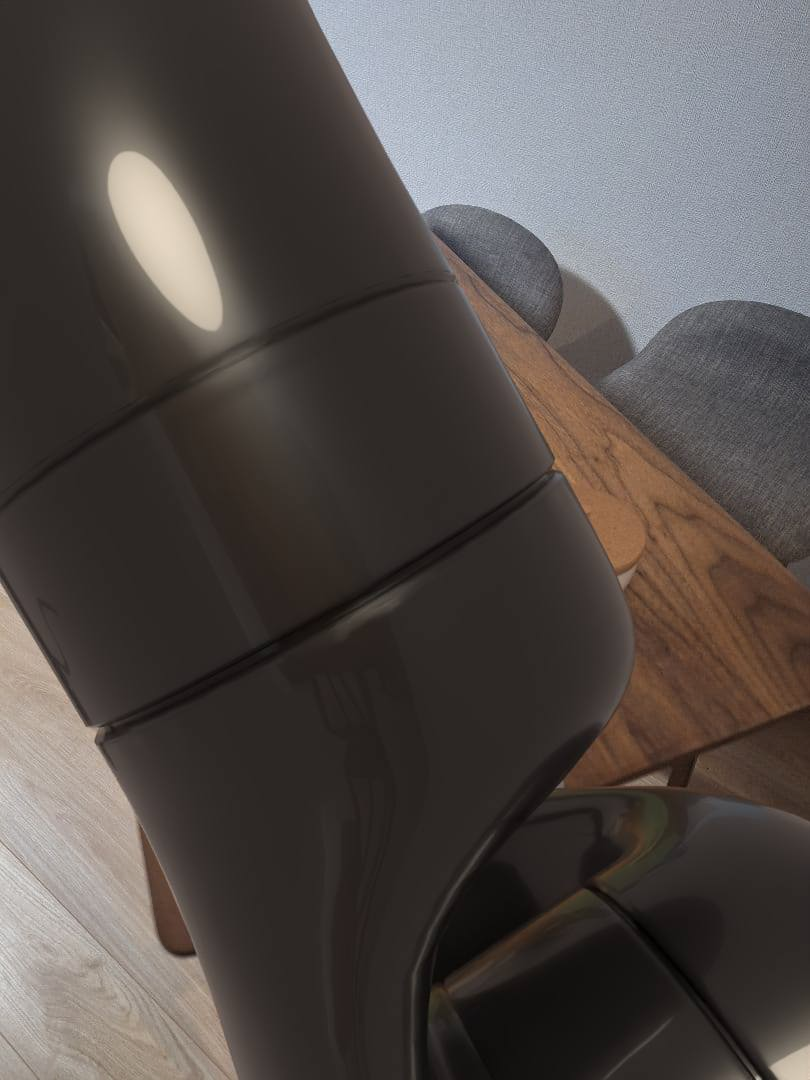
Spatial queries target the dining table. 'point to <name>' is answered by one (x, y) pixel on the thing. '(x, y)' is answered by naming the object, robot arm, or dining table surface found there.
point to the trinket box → (614, 530)
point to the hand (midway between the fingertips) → (363, 757)
